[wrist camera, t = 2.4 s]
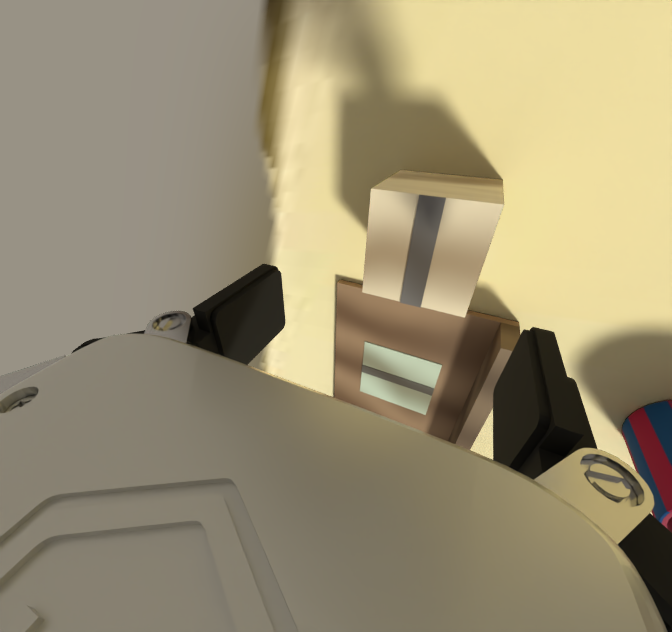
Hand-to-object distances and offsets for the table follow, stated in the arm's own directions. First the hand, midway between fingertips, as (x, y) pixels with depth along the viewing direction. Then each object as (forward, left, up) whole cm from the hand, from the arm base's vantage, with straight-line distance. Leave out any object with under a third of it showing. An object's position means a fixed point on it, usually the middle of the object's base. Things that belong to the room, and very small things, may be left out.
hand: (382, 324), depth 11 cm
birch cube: (-1, 0, -12) cm, 12 cm away
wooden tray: (+15, 0, -12) cm, 19 cm away
